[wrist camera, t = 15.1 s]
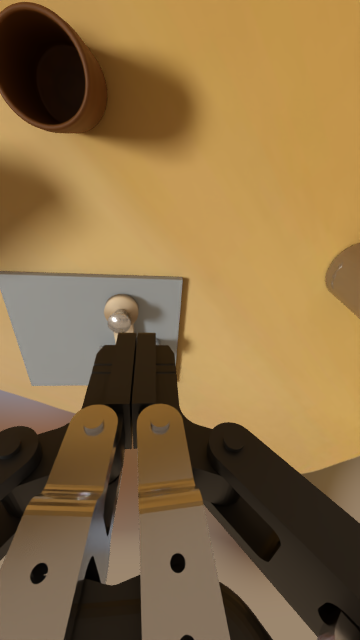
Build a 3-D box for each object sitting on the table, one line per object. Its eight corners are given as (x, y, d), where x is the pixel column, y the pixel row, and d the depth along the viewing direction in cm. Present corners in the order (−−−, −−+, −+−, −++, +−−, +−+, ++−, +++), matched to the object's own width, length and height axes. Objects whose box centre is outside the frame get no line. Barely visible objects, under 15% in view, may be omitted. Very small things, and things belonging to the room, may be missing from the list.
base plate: (182, 277, 41) (182, 279, 41) (173, 380, 54) (174, 384, 53) (-2, 271, 39) (-5, 274, 38) (33, 381, 51) (31, 385, 50)
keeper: (162, 299, 42) (163, 315, 38) (160, 350, 48) (161, 368, 44) (98, 298, 41) (92, 314, 37) (103, 350, 47) (99, 368, 43)
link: (103, 294, 41) (96, 314, 36) (137, 293, 41) (135, 313, 36) (117, 380, 51) (113, 404, 46) (144, 379, 51) (143, 403, 46)
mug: (-25, 64, 27) (-98, 35, 19) (0, -30, 24) (-74, -110, 16) (88, 149, 32) (66, 153, 24) (122, 80, 29) (109, 59, 21)
